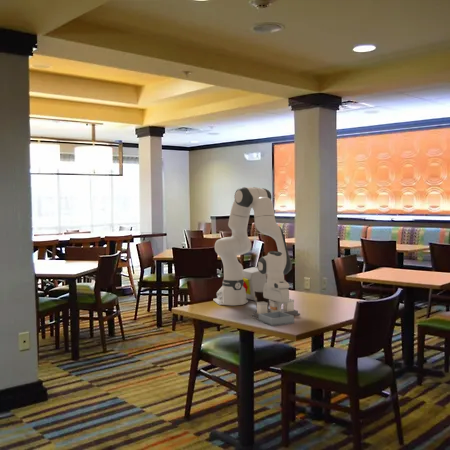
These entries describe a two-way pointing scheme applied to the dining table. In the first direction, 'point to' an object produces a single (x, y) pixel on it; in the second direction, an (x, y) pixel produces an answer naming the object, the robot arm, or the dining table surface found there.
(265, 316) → the tray
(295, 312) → the holder
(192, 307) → the dining table surface
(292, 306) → the fuse
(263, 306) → the fuse
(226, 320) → the dining table surface
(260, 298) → the coffee mug
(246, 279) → the electrical switch box
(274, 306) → the fuse marked
